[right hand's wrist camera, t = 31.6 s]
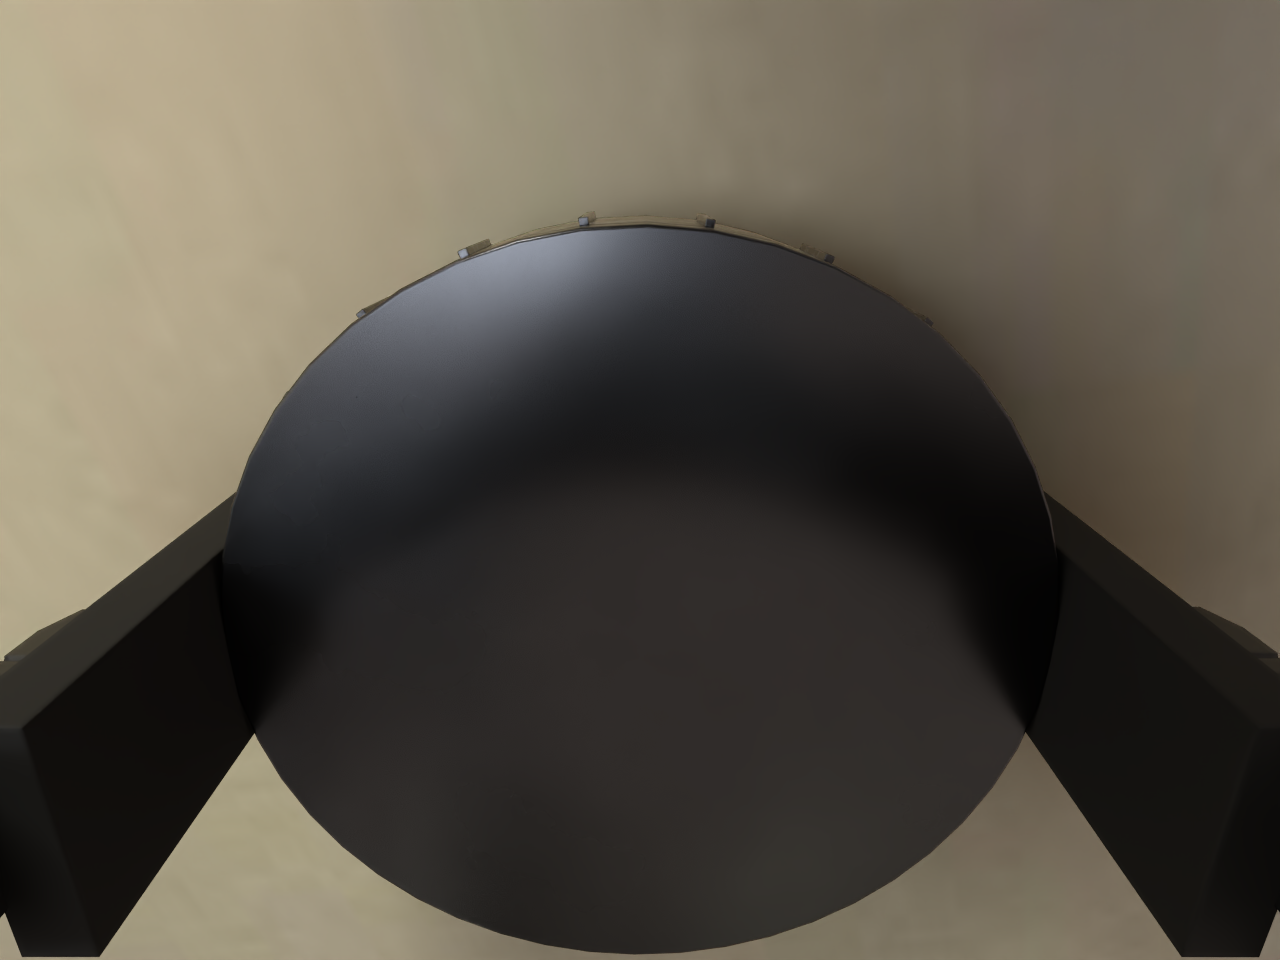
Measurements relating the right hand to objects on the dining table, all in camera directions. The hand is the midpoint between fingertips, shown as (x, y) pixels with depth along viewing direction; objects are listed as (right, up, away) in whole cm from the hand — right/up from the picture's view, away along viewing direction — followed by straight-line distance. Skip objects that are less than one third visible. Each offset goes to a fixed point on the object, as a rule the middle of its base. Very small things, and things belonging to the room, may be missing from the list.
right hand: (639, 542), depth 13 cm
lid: (0, -1, -3) cm, 3 cm away
